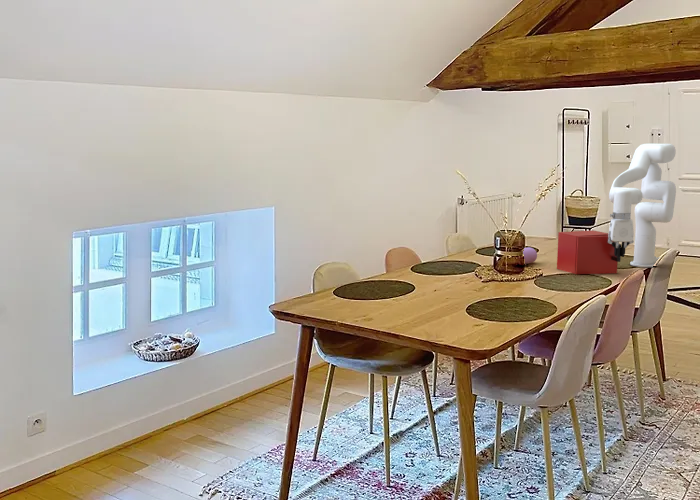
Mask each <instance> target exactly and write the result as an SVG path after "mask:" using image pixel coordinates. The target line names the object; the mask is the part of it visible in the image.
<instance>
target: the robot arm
mask: <svg viewBox="0 0 700 500" xmlns="http://www.w3.org/2000/svg"><path fill="white" fill-rule="evenodd" d="M676 151H677V150H676V147H675V145H674V144H673V143H642V144H639V146H638V147H636V148H635V151H634V153H633V156H632V159H631V161H630V164H629V167H628V168H627V169H626V170H624V171H623V172H621V173H620V174H619V175H618V176H616V177H615V178H614V180H613V182H612V184H611V187H610V189H609V193H608V198H609V201H610V202H611V203H613V205H612V206H613V207H612V208H613V209H612V213H610V215H609V217H610V218H611V219H610V222H609V227H608V233H609V235H608V240H607V243H609V244H612V245H613V247H614V255H615V256H616V257H619V250H620V249H619V247H618V246H619V244H620V243H621V258H624V257H625V255H626V249H627V247H628V246H630V245H632V244H633V243H634V244H633V245H634V247H633V260H631V261H630V262H629V265H630V266H633V267H636V268H637V267H638V268H654V267H653V265H654V264H655V263H657V262H658V261H657V260H658V259H659V258H660V257H661V256H658V257H657V256H656V254H655V253H656V242H657V241H656V240H657V229H656V227H655V225H654V224H653V223H661V224H662V223H665V224H668V223H670V222H671V221H672V219H673V218H674V212H675V211H674V210H675V202H676V195H677V187H676V184H675V182H673V181H671V180H662V175H663V171H662V167H661V166H660V165H659V164H667V163H670V162H672V161H674V159H675V157H676V154H677V152H676ZM640 180H641V184H640V185H641V186H640V188H636V187H624V186H626V185H628V184H631V183H634V182H637V181H640ZM643 199H645V200H650V201H642V200H643ZM651 200H653V201H655V202H653V201H651ZM656 201H663V202H656ZM632 205H634V206H635V207H634V219H635V230H634V221H633V219H631V217H632ZM611 240H612V241H614V242H612V241H611ZM656 261H657V262H656Z"/></svg>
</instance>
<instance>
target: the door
mask: <svg viewBox="0 0 700 500" xmlns="http://www.w3.org/2000/svg"><path fill="white" fill-rule="evenodd" d="M607 240H608V236H577V251H576V271H575V274H574V275H601V274H602V275H603V274H605V275H606V274H617V273H618V264H619V263H620V262H621V258H622V256H621V246H622V243H619V246H618V247H619V249H620V250H619V257H616V256H615V255H614V247H613V245H612V244H609V243H607ZM611 241H612V240H611ZM612 242H614V241H612Z"/></svg>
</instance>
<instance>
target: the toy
mask: <svg viewBox="0 0 700 500" xmlns="http://www.w3.org/2000/svg"><path fill="white" fill-rule="evenodd" d="M523 248H524V251H523V254H524V259H525V265H527V264H533V263H535V261H536V260H537V259H538V253H537V251H536V249H534V248H533V247H523Z"/></svg>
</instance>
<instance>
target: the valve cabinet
mask: <svg viewBox="0 0 700 500" xmlns="http://www.w3.org/2000/svg"><path fill="white" fill-rule="evenodd" d="M608 235H609V232H605V231H604V232H603V231H599V230H574V231H559V232H558V234H557V254H556V255H557V256H556V269H557V270H560V271H563V272H567V273H570V274H574V275H576V274H575V271H576V251H577V236H608Z"/></svg>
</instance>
